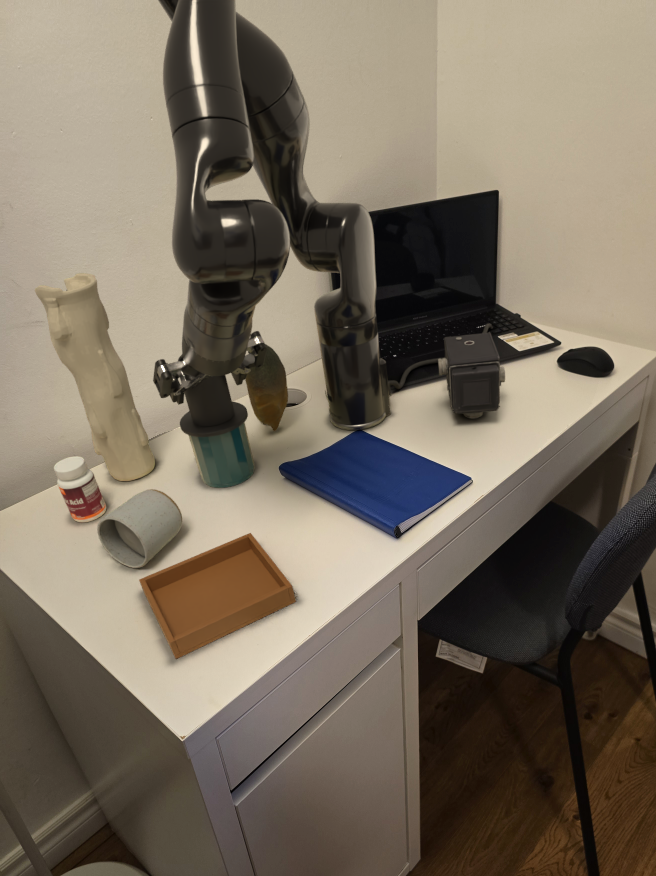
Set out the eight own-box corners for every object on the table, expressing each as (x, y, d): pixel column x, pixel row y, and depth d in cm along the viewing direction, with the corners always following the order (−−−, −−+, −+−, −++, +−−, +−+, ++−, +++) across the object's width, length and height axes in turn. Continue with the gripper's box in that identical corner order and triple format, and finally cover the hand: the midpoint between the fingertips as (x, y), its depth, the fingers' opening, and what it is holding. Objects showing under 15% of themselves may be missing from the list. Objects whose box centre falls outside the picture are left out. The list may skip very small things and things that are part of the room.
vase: (119, 492, 97) (40, 291, 80) (93, 473, 103) (15, 281, 85) (169, 466, 102) (105, 271, 85) (142, 450, 107) (77, 263, 90)
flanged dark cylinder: (235, 407, 100) (221, 351, 95) (260, 430, 93) (247, 371, 88) (174, 427, 96) (157, 370, 91) (196, 454, 89) (178, 393, 84)
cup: (243, 453, 103) (230, 401, 98) (263, 474, 98) (250, 421, 92) (194, 471, 100) (179, 419, 95) (212, 494, 95) (196, 440, 89)
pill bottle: (65, 520, 93) (42, 471, 88) (88, 501, 96) (67, 452, 91) (92, 525, 91) (70, 475, 86) (114, 505, 95) (94, 456, 90)
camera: (436, 398, 115) (444, 432, 102) (432, 334, 109) (440, 361, 96) (497, 392, 114) (513, 426, 101) (496, 327, 109) (513, 354, 96)
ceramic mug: (193, 534, 87) (177, 486, 83) (154, 573, 81) (134, 524, 77) (131, 522, 91) (112, 475, 87) (89, 559, 85) (67, 511, 81)
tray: (254, 547, 83) (250, 532, 82) (296, 601, 75) (292, 585, 73) (145, 595, 78) (138, 579, 77) (175, 659, 69) (169, 643, 68)
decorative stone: (269, 416, 113) (251, 333, 104) (302, 418, 111) (287, 333, 103) (247, 445, 105) (226, 358, 97) (282, 447, 104) (264, 358, 95)
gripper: (260, 287, 79) (243, 350, 93) (143, 318, 73) (145, 380, 88) (286, 341, 78) (265, 396, 93) (170, 377, 72) (168, 429, 87)
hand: (207, 388), depth 90 cm, fingers open, 8 cm apart
